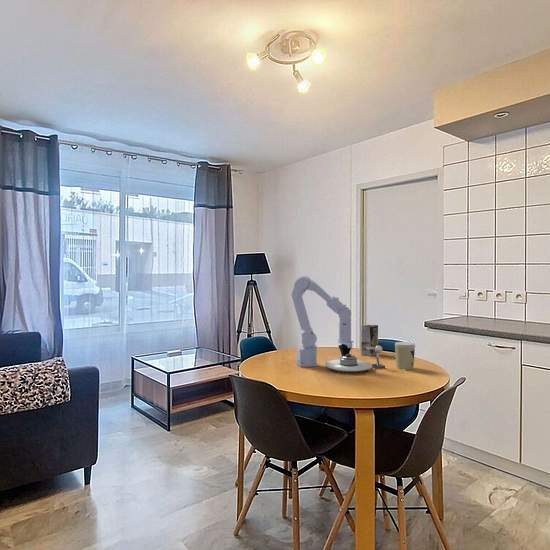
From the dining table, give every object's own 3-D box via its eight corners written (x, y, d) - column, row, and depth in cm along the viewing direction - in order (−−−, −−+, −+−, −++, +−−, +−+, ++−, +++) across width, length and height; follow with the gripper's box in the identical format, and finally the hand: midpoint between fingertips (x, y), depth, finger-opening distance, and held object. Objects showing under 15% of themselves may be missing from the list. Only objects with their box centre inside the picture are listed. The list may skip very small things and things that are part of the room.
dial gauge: (368, 369, 202) (368, 346, 202) (364, 366, 207) (364, 344, 207) (385, 368, 203) (385, 345, 203) (380, 366, 208) (380, 344, 208)
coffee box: (371, 356, 231) (371, 326, 231) (360, 355, 235) (360, 326, 235) (378, 353, 238) (378, 325, 238) (367, 352, 242) (367, 324, 242)
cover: (343, 366, 197) (343, 356, 197) (337, 363, 205) (337, 353, 205) (359, 366, 199) (359, 355, 199) (353, 362, 207) (353, 352, 206)
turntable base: (336, 374, 192) (336, 371, 192) (324, 365, 210) (324, 362, 210) (374, 372, 195) (374, 369, 195) (359, 363, 213) (359, 360, 213)
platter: (334, 372, 190) (334, 370, 190) (319, 361, 211) (319, 360, 211) (380, 369, 194) (380, 368, 194) (361, 359, 215) (361, 358, 215)
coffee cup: (416, 370, 198) (416, 345, 198) (395, 370, 200) (395, 344, 200) (413, 366, 207) (413, 341, 207) (394, 365, 209) (394, 341, 209)
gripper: (358, 334, 201) (358, 362, 201) (347, 329, 215) (347, 356, 215) (344, 334, 199) (344, 363, 199) (334, 330, 213) (334, 357, 214)
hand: (345, 360), depth 207 cm, fingers closed
